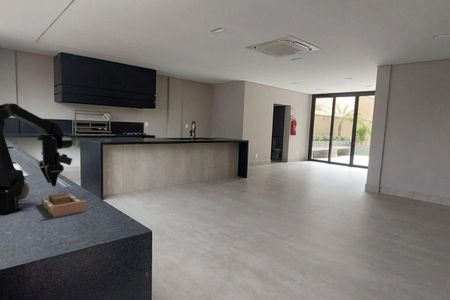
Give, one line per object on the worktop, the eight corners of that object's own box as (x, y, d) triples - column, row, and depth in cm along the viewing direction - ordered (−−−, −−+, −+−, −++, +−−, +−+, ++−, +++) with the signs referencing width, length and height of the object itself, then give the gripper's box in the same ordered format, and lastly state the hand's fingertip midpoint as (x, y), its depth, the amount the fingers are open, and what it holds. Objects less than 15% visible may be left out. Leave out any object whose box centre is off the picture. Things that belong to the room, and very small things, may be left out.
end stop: (86, 211, 107) (86, 201, 106) (53, 217, 99) (53, 206, 99) (85, 210, 108) (84, 200, 107) (52, 216, 100) (52, 205, 100)
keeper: (70, 205, 114) (69, 196, 114) (53, 208, 110) (53, 198, 109) (65, 201, 120) (64, 192, 119) (49, 204, 116) (48, 194, 115)
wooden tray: (85, 210, 108) (84, 203, 107) (52, 216, 100) (52, 209, 100) (70, 199, 122) (70, 193, 122) (41, 204, 114) (41, 198, 114)
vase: (33, 195, 127) (32, 177, 126) (21, 200, 120) (19, 180, 119) (19, 195, 127) (18, 176, 126) (6, 199, 120) (5, 179, 120)
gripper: (76, 150, 121) (77, 185, 122) (64, 147, 134) (66, 178, 136) (46, 152, 113) (48, 189, 114) (37, 148, 126) (39, 181, 128)
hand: (51, 184), depth 123 cm, fingers open, 9 cm apart
